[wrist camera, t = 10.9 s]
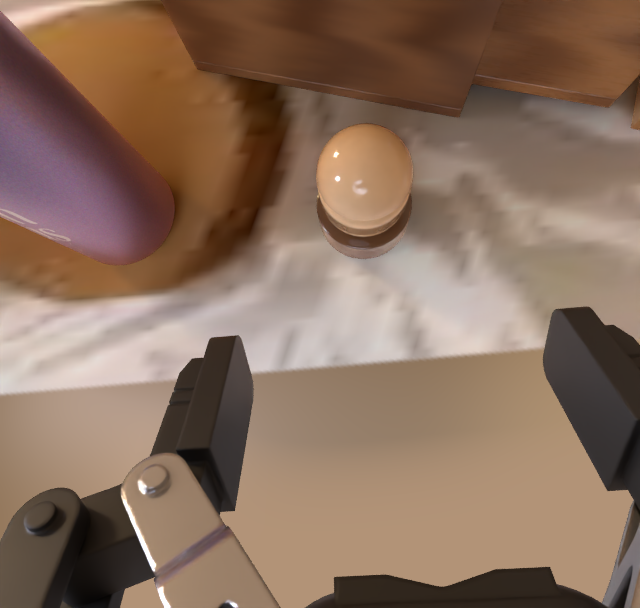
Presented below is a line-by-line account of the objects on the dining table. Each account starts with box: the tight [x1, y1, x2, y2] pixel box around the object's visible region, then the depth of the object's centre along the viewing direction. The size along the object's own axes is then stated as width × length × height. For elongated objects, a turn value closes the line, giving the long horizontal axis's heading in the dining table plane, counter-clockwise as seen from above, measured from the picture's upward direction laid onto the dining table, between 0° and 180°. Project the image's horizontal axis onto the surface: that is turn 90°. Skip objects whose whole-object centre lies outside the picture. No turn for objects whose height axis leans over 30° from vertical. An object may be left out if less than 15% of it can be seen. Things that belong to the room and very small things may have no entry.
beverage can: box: [0, 11, 175, 265], centre depth 20 cm, size 6×6×15 cm
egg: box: [316, 123, 413, 259], centre depth 22 cm, size 5×5×7 cm
